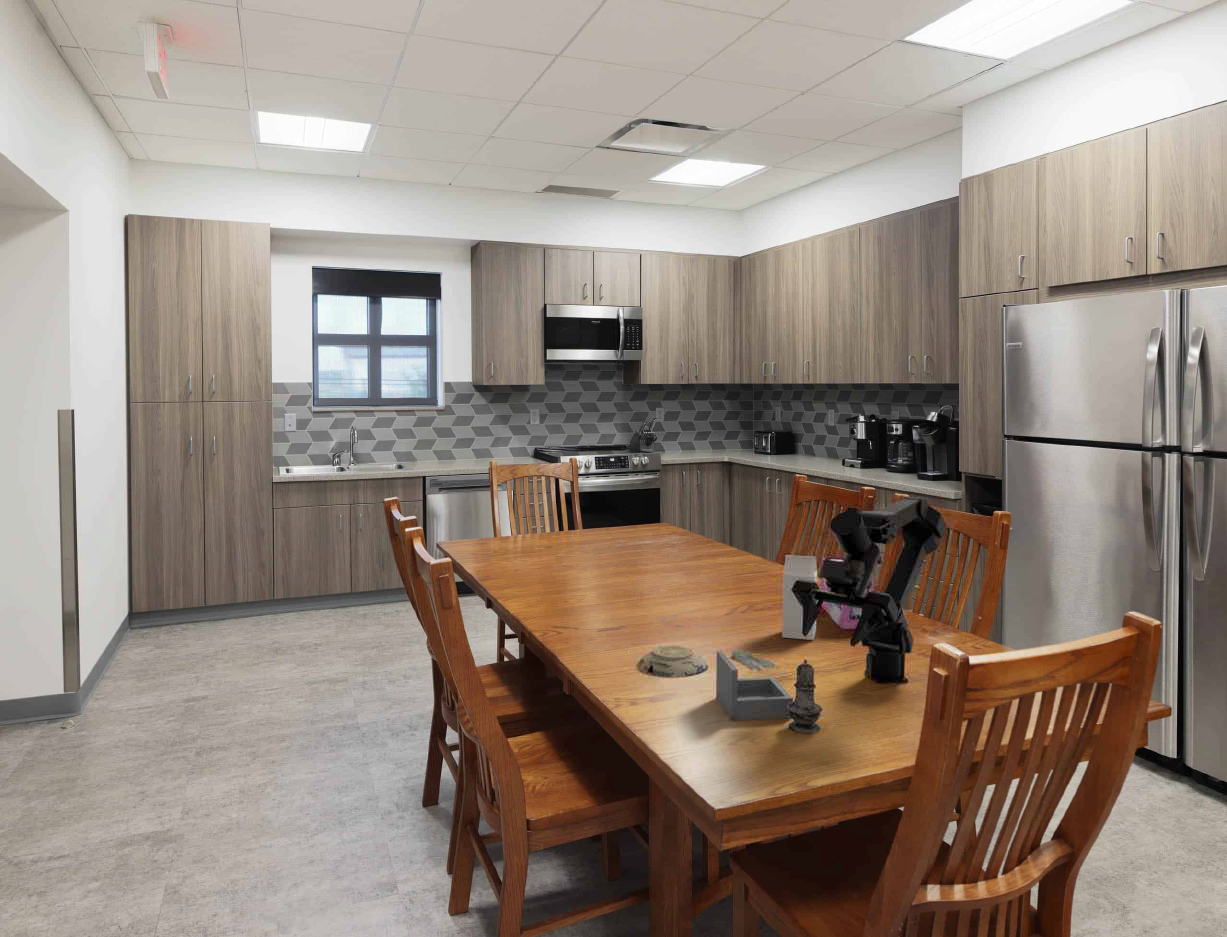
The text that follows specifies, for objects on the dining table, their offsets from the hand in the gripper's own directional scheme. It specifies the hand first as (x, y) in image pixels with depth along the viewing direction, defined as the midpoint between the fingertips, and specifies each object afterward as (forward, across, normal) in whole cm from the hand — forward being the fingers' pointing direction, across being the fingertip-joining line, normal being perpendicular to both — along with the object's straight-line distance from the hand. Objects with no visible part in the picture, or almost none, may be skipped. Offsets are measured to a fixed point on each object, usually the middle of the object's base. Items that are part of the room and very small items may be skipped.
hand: (827, 640), depth 145 cm
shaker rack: (+14, -11, +5) cm, 19 cm away
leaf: (0, -21, +19) cm, 29 cm away
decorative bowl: (+8, -37, +12) cm, 40 cm away
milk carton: (-19, -28, +38) cm, 51 cm away
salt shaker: (+15, 0, +4) cm, 16 cm away
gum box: (-35, -27, +54) cm, 70 cm away
